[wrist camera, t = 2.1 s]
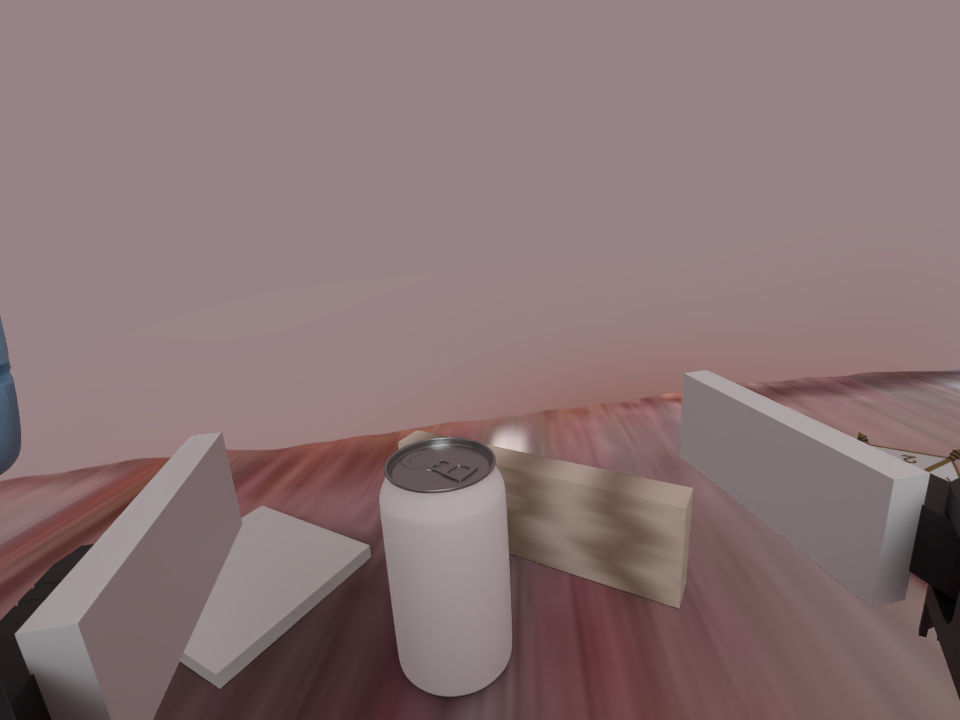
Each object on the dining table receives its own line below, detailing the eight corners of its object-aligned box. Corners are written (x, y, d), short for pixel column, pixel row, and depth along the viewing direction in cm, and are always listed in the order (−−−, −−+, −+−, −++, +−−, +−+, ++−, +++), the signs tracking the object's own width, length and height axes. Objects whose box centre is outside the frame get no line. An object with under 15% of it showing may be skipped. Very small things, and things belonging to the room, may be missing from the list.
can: (447, 593, 33) (432, 424, 30) (533, 635, 30) (528, 448, 26) (374, 665, 28) (346, 473, 25) (468, 726, 25) (451, 511, 21)
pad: (108, 611, 33) (104, 599, 33) (264, 515, 43) (262, 505, 43) (219, 689, 27) (216, 674, 27) (371, 557, 37) (369, 545, 37)
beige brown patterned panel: (406, 520, 41) (398, 442, 39) (424, 505, 43) (416, 430, 41) (679, 608, 31) (686, 508, 29) (686, 583, 33) (693, 488, 31)
